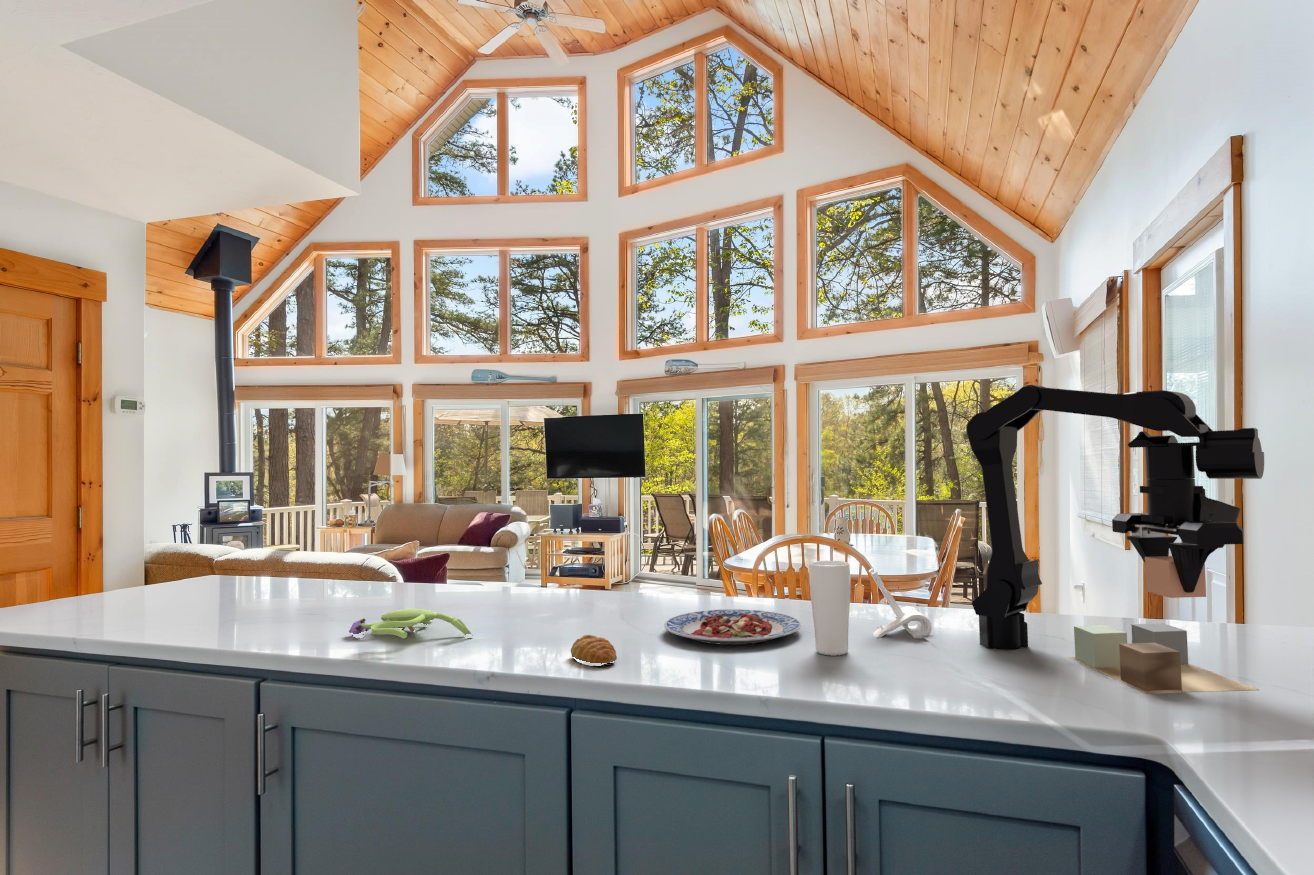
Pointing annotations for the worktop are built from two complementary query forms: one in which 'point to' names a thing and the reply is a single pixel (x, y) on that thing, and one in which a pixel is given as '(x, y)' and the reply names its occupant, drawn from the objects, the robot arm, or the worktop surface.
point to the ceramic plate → (732, 626)
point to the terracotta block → (1169, 578)
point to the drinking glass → (830, 605)
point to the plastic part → (901, 615)
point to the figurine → (405, 622)
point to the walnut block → (1150, 666)
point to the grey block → (1162, 637)
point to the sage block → (1098, 645)
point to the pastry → (593, 650)
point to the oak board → (1185, 680)
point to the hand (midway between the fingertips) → (1175, 589)
